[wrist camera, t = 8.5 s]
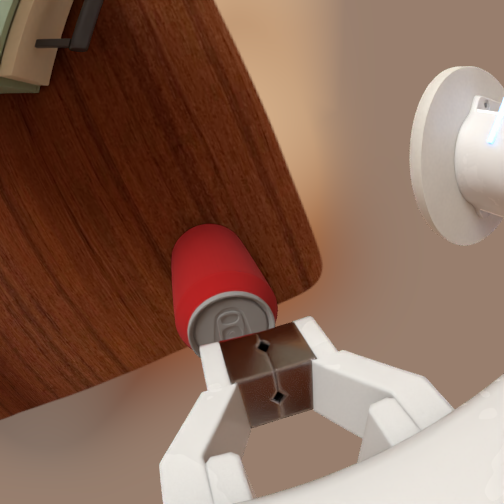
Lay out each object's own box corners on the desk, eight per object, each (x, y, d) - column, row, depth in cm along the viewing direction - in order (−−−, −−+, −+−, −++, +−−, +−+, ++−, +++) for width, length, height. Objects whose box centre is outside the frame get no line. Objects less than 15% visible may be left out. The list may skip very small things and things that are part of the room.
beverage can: (179, 294, 30) (190, 383, 20) (163, 228, 28) (163, 297, 17) (247, 280, 32) (288, 359, 21) (238, 214, 29) (283, 271, 18)
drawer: (131, -31, 17) (123, -73, 11) (94, 87, 21) (67, 75, 14) (-28, -15, 12) (-63, -36, 5) (-60, 91, 15) (-106, 91, 9)
